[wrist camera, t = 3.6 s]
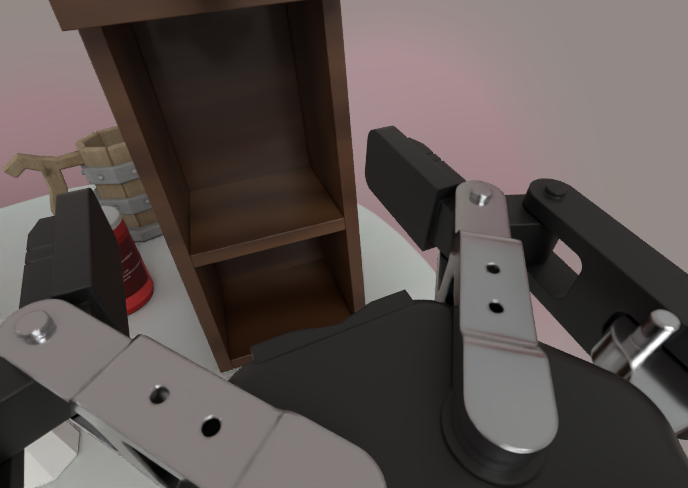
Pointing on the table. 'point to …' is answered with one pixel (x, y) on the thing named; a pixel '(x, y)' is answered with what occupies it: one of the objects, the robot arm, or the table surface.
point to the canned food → (130, 263)
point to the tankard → (99, 178)
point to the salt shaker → (50, 455)
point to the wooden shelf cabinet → (238, 153)
